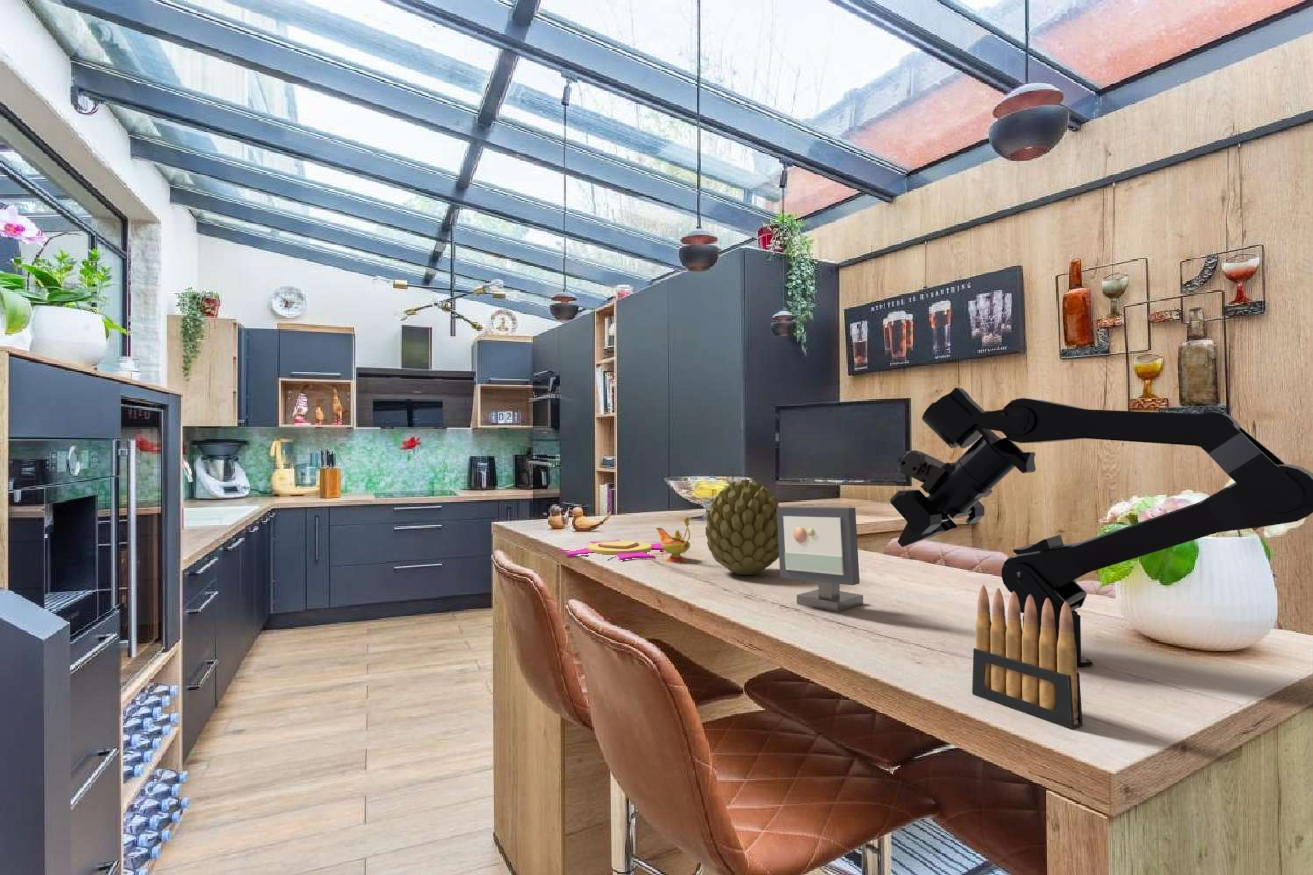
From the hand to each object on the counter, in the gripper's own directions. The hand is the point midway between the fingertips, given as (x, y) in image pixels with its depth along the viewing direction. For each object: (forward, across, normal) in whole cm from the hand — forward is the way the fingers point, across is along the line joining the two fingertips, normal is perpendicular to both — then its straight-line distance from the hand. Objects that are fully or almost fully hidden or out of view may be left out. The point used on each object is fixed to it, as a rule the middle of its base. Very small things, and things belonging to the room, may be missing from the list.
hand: (900, 544), depth 99 cm
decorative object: (+39, -16, -21) cm, 48 cm away
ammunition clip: (-8, +19, +26) cm, 33 cm away
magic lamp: (+56, -17, -38) cm, 70 cm away
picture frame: (+16, 0, -5) cm, 16 cm away
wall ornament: (+70, -16, -51) cm, 89 cm away
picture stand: (+20, -5, -2) cm, 21 cm away
